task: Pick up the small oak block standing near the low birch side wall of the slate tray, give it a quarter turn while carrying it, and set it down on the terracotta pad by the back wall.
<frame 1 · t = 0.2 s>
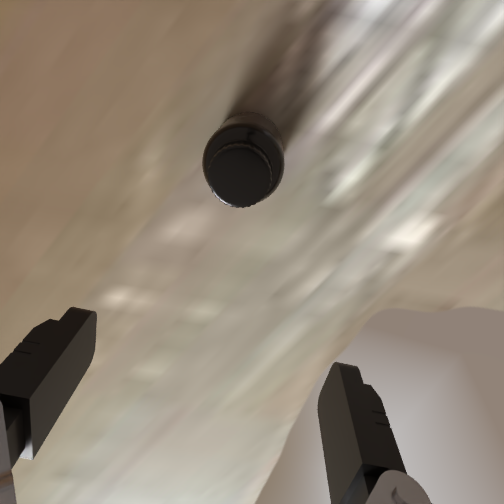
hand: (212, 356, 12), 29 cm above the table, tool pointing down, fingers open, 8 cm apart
supplement bottle: (248, 146, 38), on the table
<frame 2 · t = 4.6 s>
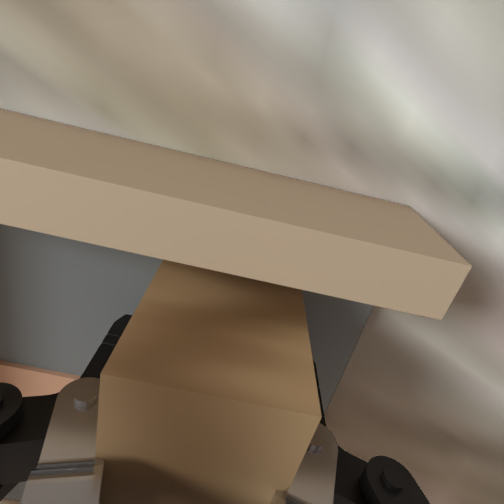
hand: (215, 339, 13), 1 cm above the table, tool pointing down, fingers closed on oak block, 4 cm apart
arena: (109, 369, 15), on the table
oak block: (217, 332, 13), point 1 cm above the table, touching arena, gripper
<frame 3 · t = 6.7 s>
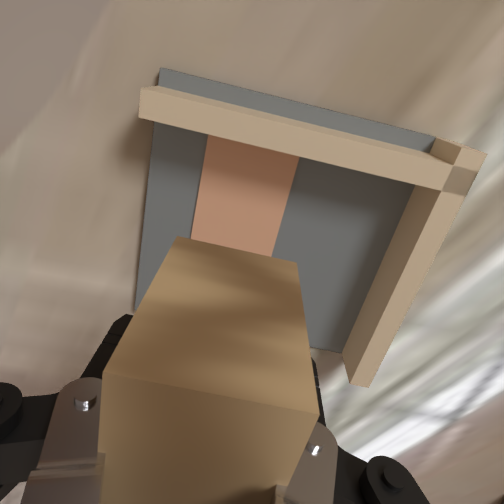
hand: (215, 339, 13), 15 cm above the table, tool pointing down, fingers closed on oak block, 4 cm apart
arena: (276, 233, 27), on the table
oak block: (217, 332, 14), point 14 cm above the table, touching gripper
when the fingers open (3 cm above the table, at t = 9.1 s): oak block drops 1 cm, resting on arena.
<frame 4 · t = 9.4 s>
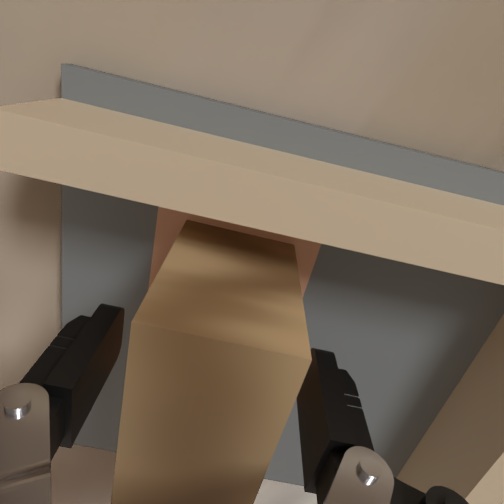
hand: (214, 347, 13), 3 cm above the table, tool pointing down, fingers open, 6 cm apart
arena: (283, 338, 16), on the table
oak block: (222, 309, 15), point 1 cm above the table, touching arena
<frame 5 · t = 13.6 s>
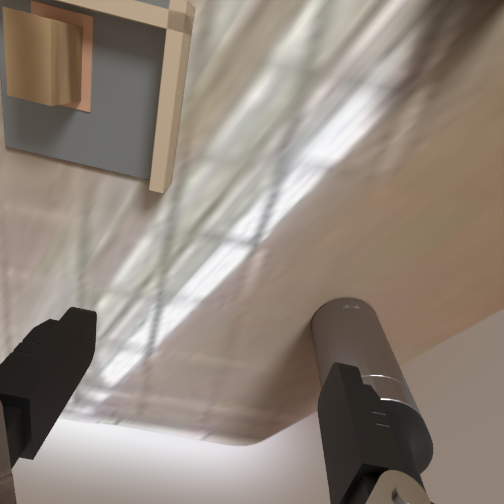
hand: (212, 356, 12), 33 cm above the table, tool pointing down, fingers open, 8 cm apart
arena: (94, 82, 39), on the table
oak block: (62, 60, 38), point 1 cm above the table, touching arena
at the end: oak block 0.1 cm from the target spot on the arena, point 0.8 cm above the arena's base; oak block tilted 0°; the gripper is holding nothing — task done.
